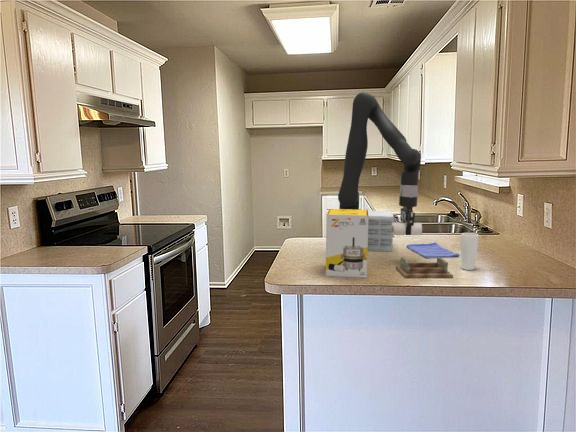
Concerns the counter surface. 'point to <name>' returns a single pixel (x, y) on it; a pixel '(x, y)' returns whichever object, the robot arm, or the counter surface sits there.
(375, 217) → the supplement box
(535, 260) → the counter surface
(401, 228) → the roll
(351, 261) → the packaging box
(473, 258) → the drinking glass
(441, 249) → the dish towel
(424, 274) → the cradle
